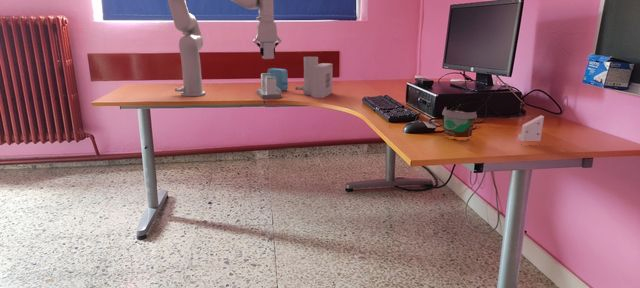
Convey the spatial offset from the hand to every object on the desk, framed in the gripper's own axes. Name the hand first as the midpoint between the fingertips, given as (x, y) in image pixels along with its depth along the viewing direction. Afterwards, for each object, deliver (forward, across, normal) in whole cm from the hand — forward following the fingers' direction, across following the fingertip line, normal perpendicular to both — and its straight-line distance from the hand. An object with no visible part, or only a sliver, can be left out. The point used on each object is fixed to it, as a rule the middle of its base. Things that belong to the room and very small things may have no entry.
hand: (267, 55), depth 229 cm
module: (+2, 0, 0) cm, 2 cm away
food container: (+22, +48, -103) cm, 116 cm away
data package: (+21, +8, +16) cm, 28 cm away
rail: (+21, 0, 0) cm, 21 cm away
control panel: (+22, +23, -4) cm, 32 cm away
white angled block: (+22, +68, -116) cm, 136 cm away
